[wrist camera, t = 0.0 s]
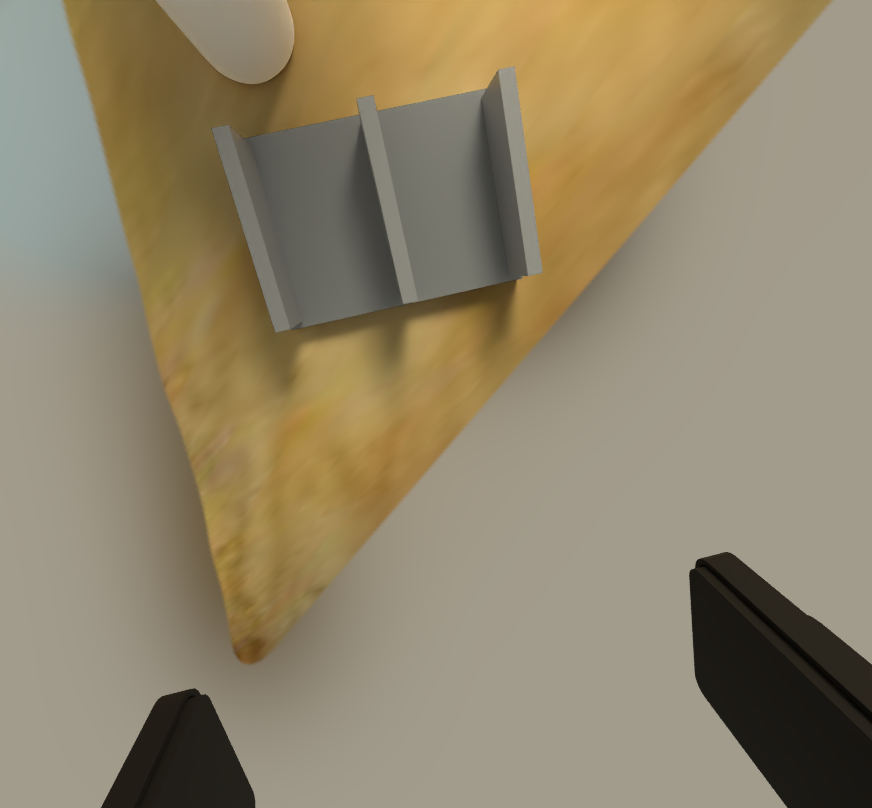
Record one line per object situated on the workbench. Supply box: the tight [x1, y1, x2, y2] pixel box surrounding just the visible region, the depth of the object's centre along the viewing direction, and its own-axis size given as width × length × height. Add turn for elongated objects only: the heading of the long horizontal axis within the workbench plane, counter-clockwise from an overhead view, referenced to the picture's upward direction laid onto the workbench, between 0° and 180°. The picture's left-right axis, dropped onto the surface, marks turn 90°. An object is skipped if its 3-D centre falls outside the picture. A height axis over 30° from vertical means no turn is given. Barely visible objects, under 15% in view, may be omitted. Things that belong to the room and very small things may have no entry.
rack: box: [211, 66, 543, 333], centre depth 32 cm, size 13×18×6 cm
